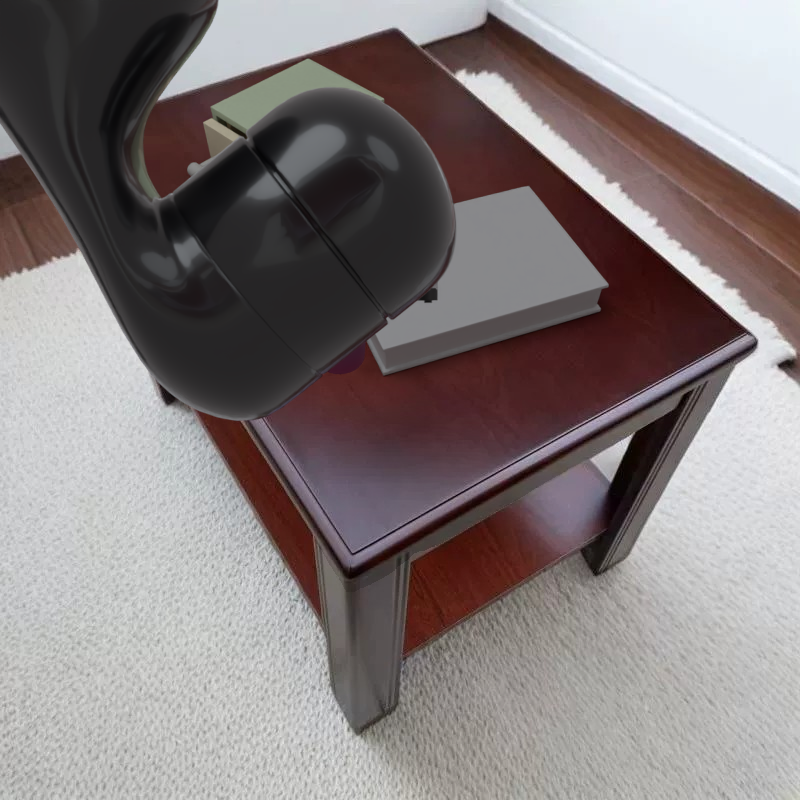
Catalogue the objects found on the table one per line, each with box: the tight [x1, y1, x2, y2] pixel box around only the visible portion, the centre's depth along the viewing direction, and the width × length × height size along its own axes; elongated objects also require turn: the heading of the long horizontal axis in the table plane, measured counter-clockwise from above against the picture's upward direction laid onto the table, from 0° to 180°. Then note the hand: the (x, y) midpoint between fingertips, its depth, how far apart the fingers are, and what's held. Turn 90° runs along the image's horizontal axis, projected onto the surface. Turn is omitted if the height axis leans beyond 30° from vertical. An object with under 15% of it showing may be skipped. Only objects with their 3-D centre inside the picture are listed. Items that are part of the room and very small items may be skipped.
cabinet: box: [210, 58, 385, 134], centre depth 85 cm, size 15×13×10 cm
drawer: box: [186, 117, 248, 177], centre depth 83 cm, size 18×11×8 cm, turn 137°
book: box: [366, 185, 609, 377], centre depth 76 cm, size 18×4×24 cm
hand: (336, 285), depth 55 cm, fingers closed on cup, 5 cm apart
